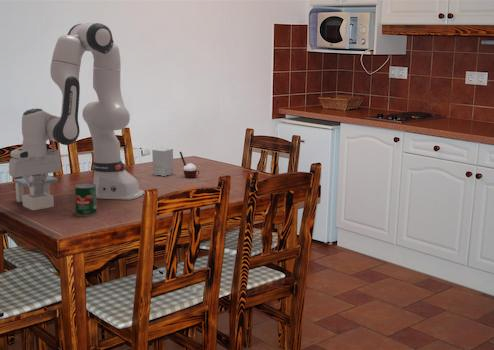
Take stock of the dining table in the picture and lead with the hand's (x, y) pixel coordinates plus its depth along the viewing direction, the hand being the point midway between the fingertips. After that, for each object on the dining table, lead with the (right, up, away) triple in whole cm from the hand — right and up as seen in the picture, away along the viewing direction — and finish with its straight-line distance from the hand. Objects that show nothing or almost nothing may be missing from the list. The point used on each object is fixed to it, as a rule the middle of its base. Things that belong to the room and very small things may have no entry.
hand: (36, 185), depth 260 cm
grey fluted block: (+42, +4, +62) cm, 75 cm away
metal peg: (0, -5, +1) cm, 5 cm away
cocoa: (+55, +3, +57) cm, 80 cm away
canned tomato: (+21, -11, -7) cm, 25 cm away
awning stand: (-1, -7, +8) cm, 10 cm away
